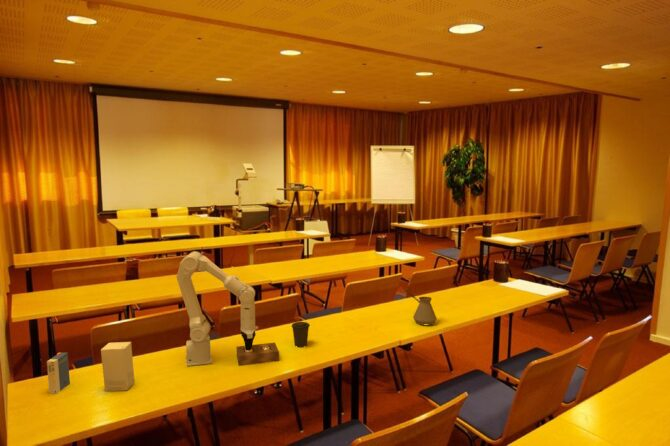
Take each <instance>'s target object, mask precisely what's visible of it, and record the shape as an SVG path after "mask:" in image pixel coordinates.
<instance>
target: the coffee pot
mask: <svg viewBox="0 0 670 446" xmlns="http://www.w3.org/2000/svg"><path fill="white" fill-rule="evenodd" d="M401 291H403V292H405V293H407V294H408V295H409V296H410V297H411V298H413V299H414V300H415V301H417V303H418V305H417V308H416V310H415V313H413V320H414V322H415V323H419V324H432V323H433V324H434V323H435V322H436V321H437V315H436V313H435V310H434V309H433V306H432V303H431V301H432V300H433V299H432V297H431V296H419V297H418V298H417V297H416V296H415V295H414V294H413V293H412V292H410V291H409V290H408V289H406V288H405V287H404V288H402V290H401ZM419 324H418V325H419ZM433 324H432V325H433Z"/></svg>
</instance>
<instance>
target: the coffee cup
mask: <svg viewBox="0 0 670 446" xmlns="http://www.w3.org/2000/svg"><path fill="white" fill-rule="evenodd" d="M310 325H311V324H310V323H309V322H307V321H296V322H294V323H291V328H292V334H293V341H294V346H295V347H296V346H297V347H296V348H305V347H307V346H306V345H308V338H309V329H310ZM304 346H305V347H304Z"/></svg>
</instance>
